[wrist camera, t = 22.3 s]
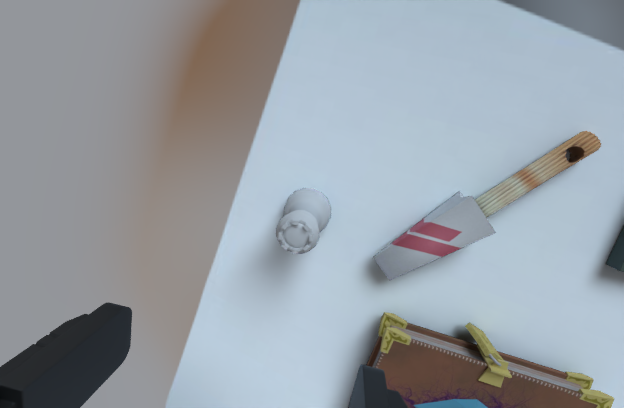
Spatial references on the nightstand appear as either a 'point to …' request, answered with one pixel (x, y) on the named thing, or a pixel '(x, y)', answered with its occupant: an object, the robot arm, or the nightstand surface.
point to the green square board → (617, 254)
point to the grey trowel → (475, 211)
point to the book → (471, 372)
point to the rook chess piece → (303, 220)
